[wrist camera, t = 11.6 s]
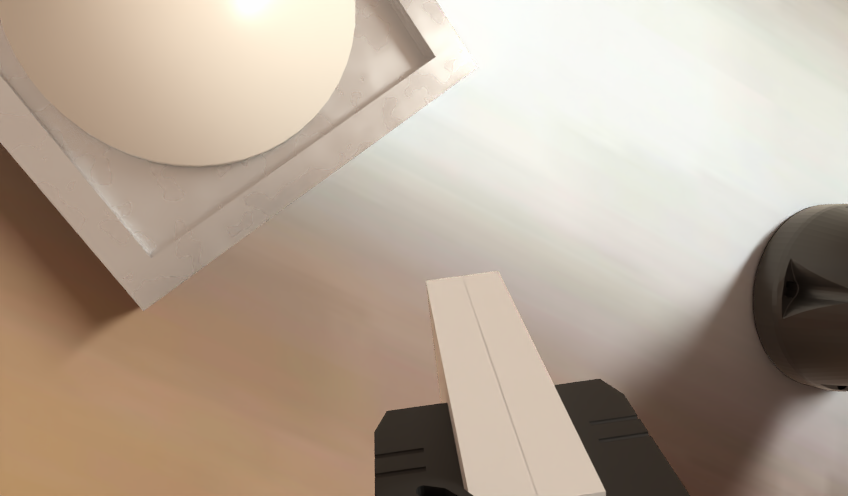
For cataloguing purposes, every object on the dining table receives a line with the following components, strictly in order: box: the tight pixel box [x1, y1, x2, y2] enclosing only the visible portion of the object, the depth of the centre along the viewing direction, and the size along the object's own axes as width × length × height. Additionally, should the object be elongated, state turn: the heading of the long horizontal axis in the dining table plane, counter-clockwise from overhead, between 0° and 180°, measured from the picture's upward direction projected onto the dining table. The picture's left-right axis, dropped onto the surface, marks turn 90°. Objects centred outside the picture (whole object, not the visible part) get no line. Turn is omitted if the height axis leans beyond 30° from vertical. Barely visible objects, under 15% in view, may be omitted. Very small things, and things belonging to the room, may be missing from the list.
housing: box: [0, 0, 478, 311], centre depth 36 cm, size 24×24×4 cm
